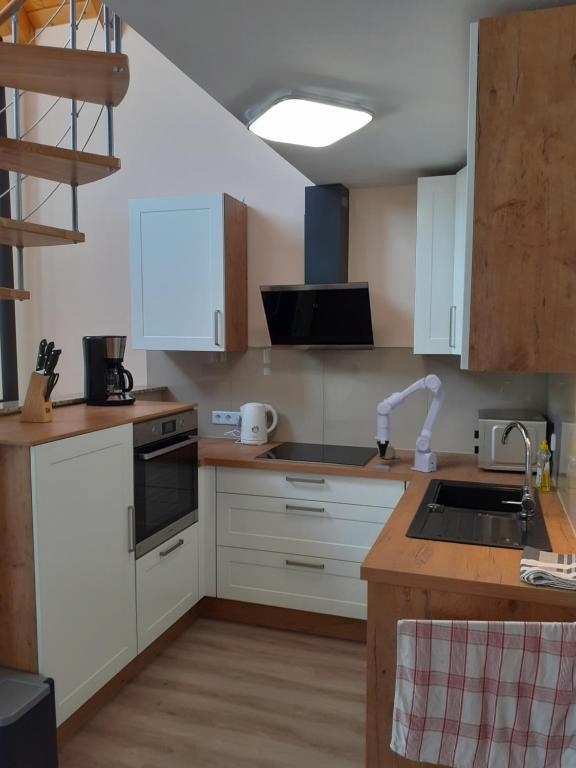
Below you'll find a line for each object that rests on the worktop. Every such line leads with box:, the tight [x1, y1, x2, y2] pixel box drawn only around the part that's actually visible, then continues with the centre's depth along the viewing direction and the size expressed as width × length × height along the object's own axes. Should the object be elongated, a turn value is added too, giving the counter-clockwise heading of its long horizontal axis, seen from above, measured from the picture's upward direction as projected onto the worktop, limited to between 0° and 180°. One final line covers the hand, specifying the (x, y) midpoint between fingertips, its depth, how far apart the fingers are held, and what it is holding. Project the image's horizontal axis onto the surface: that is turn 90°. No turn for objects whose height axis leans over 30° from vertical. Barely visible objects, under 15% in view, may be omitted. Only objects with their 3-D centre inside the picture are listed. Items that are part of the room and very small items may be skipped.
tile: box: [375, 464, 390, 473], centre depth 276 cm, size 2×6×6 cm
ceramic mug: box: [377, 442, 401, 460], centre depth 304 cm, size 11×8×8 cm
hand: (382, 456), depth 282 cm, fingers closed
